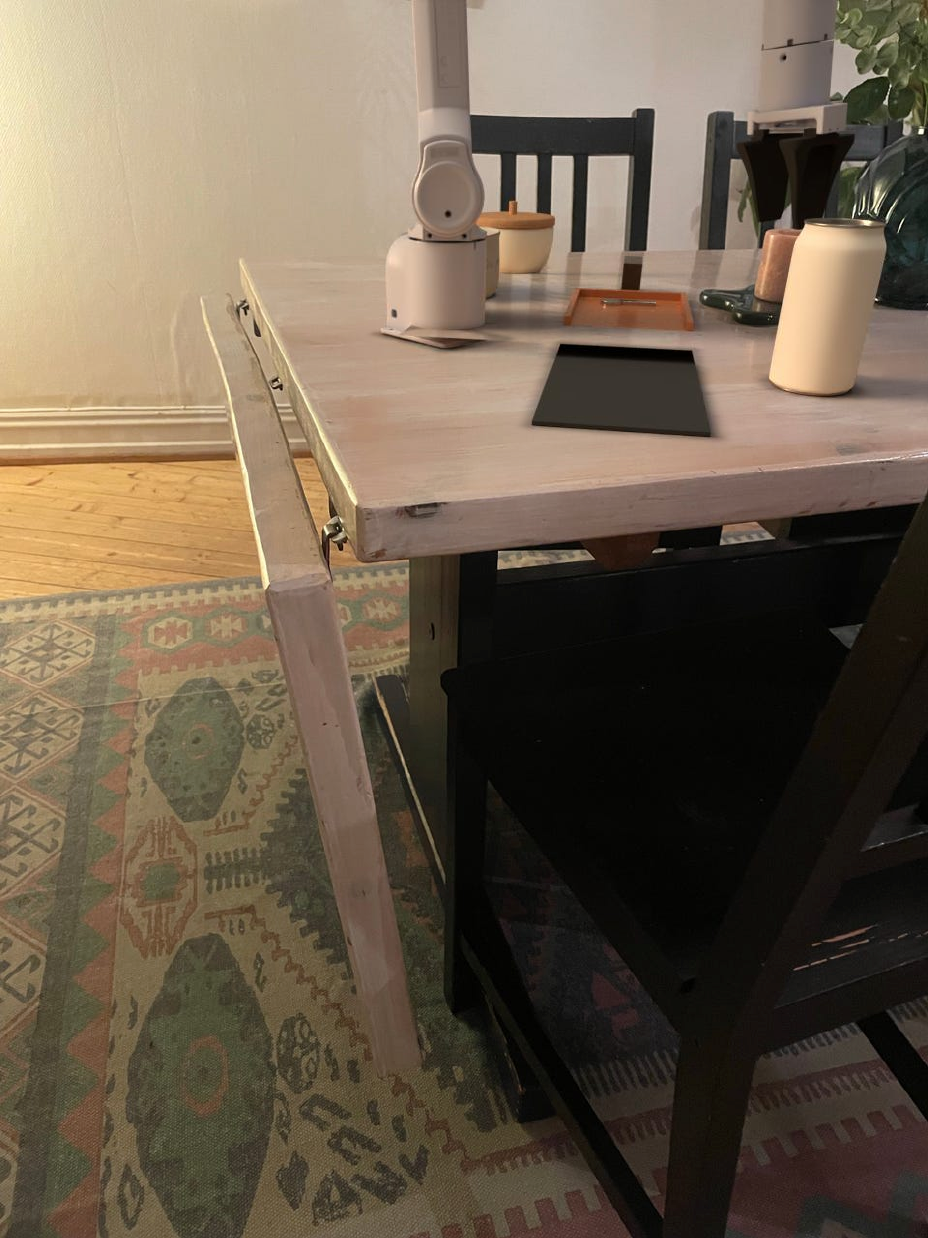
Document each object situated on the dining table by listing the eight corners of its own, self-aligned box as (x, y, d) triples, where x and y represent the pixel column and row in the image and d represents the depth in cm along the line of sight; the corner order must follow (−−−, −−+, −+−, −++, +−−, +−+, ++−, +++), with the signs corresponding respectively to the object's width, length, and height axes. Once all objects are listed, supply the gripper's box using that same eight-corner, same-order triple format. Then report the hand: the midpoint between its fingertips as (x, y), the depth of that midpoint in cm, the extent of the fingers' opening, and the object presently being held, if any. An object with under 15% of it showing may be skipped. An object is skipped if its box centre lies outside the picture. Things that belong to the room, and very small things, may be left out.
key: (599, 305, 90) (600, 301, 90) (600, 301, 92) (601, 297, 92) (656, 307, 89) (656, 303, 89) (655, 303, 91) (656, 299, 91)
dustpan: (562, 330, 82) (565, 285, 80) (577, 291, 101) (580, 254, 99) (691, 337, 80) (698, 290, 78) (682, 296, 99) (687, 258, 97)
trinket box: (565, 278, 115) (570, 200, 110) (526, 289, 107) (530, 206, 102) (496, 271, 120) (498, 196, 115) (454, 281, 112) (454, 201, 107)
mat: (531, 424, 59) (531, 420, 59) (561, 342, 81) (561, 339, 81) (710, 436, 57) (710, 432, 57) (691, 349, 80) (691, 346, 79)
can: (755, 375, 71) (784, 217, 65) (830, 375, 72) (865, 217, 66) (787, 397, 66) (821, 226, 60) (868, 396, 66) (910, 226, 60)
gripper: (891, 29, 65) (872, 224, 72) (803, 47, 78) (793, 211, 85) (801, 43, 65) (790, 236, 72) (727, 58, 78) (724, 222, 84)
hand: (787, 224), depth 78 cm, fingers open, 7 cm apart
